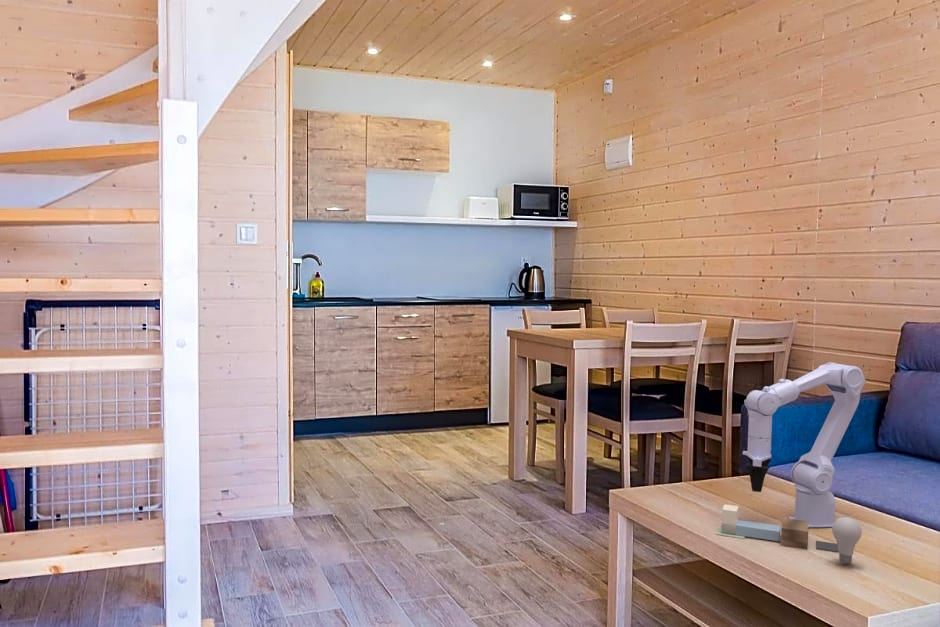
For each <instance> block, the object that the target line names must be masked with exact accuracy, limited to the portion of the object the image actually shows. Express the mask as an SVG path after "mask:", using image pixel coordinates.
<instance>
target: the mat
mask: <svg viewBox="0 0 940 627" xmlns="http://www.w3.org/2000/svg"><path fill="white" fill-rule="evenodd" d="M721 530H722V525H717V528H716V531H715V533H714V534H715V535H717V536H723V537H731V538H737V539H745V538H746V536H741V535H734V534H727V533H721Z"/></svg>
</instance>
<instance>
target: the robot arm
mask: <svg viewBox="0 0 940 627" xmlns="http://www.w3.org/2000/svg"><path fill="white" fill-rule="evenodd" d="M777 381H778V382H776V383H774V384H771V385H770V386H767V385H766V386H764V387H763V388H762V389H761V390H757V389H754V390H752V391H749V393H748V394H747V395H746V399H744V402H743V403H744V405H745V407H746V409H747V416H748V424H747V425H748V430H747V450H743V451H742V455H744V456H747V457H748V458H747V459H748V460H749V462H746V463H745V467H746V470H747V472H748V475H749V478H750V487H751V491H752V492H755V493H762V490H763V487H764V480H765V477H766V474H767V473H768V471H769V469H770V466H769V464H770V462H771V460H772V453H771V451H772V430H773V429H772V427H773V415H774V413H776V412H777V409H779V407H782V406H784V405H787V404H788V403H790V402H793V401H795V400H797V399H798V397H799V394H800V393H803V392H805V391H809V390H811V389H814V388H816V387H818V386H819V387H820V386H822V385H825V386H826V388H827V389H828V390H829V392H830V393H831V394H832V396H833V398H834V402H833V404H832V406H831V407H830V410H829V412H828V414H827V417H826V418H825V421H824V422H823V425H822V427H821V428H820V431H819V433H818V435H817V437H816V439H815V441H814V444H813V446H812V447H811V450H810V451H809V452H807V453H805V454H803V455H801V456H800V457H799V459H798V461H797V462H796V463H795V464H793V466H792V467H791V470H790V478H791V480H792V482H793V483H794V488H795V501H794V503H795V504H794V515H793V516H789V515H788V516H787V519H794V520H802V521H808V528H832V526H833V524H834V522H835V521H836V499H835V495H834V494H833V493H832V491H830V489H831V488H832V486H833V485H832V484H833V476H834V474H835V472H836V469H835V467H834V465H833V464H832V460H833V458H834V456H835V454H836V452H837V449H838V448H839V445H840V443H841V441H842V439H843V437H844V435H845V433H846V431H847V429H848V427H849V425H850V422H851V421H852V419H853V416H854V415H855V412H856V410H857V408H858V406H859V403H860V399H861V392H862V389H863V387H864V385H865V383H866V379H865V375H864V373H863V371H862V369H861V368H860V367H859V366H855V365H848V364H841V363H836V362H833V361H832V362H827V363H825V364H821V365H819V367H818V368H816V369H814V370H811V371H810V372H808V373H806V374H805V375H802V376H800V377H798V378H796V379H794V380H793V381H792V380H790V379H787V378H786V379H784V378H780V379H778V380H777Z"/></svg>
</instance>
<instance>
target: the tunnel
mask: <svg viewBox="0 0 940 627" xmlns="http://www.w3.org/2000/svg"><path fill="white" fill-rule="evenodd" d="M808 542H809V527H808V521H802V520H794V519H788V517H787V518H786V517H782V520H781V527H780V546H781V547H787V548H788V547H789V548H794V549H800V550H801V549H802V550H807V551H808V545H809V544H808Z"/></svg>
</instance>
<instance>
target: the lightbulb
mask: <svg viewBox="0 0 940 627" xmlns="http://www.w3.org/2000/svg"><path fill="white" fill-rule="evenodd" d="M831 531H832V534H833V537H834V539H835V541H836V544H838V552H839V553H838V552H837V553H838V559H839V562H840V563H842V564H843V565H844V566H847V565H848V566H849V565H850V564H851V563H852V560H853V555H854V552H855V551H854V550H855V547H856V545H857V544H858V542H859V541H860V539H861V537H862V527H861V525H860V524H859V522H858V521H857V520H856V519H854V518H852V517H848V516H841V517H838V518H837V519H835V522H834V524H833V526H832V527H831Z"/></svg>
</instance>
